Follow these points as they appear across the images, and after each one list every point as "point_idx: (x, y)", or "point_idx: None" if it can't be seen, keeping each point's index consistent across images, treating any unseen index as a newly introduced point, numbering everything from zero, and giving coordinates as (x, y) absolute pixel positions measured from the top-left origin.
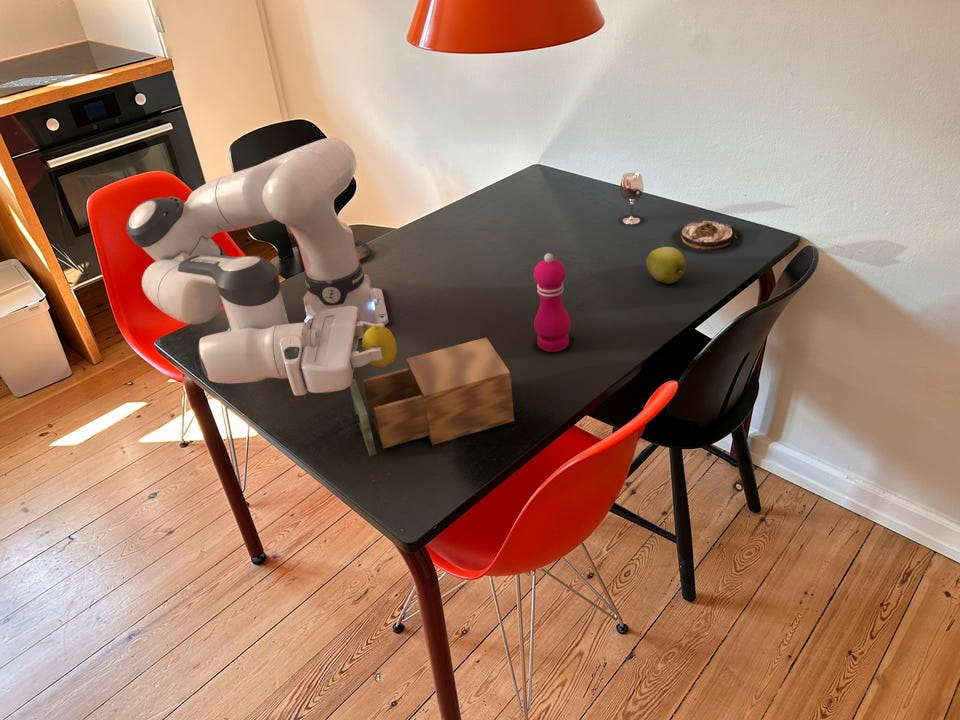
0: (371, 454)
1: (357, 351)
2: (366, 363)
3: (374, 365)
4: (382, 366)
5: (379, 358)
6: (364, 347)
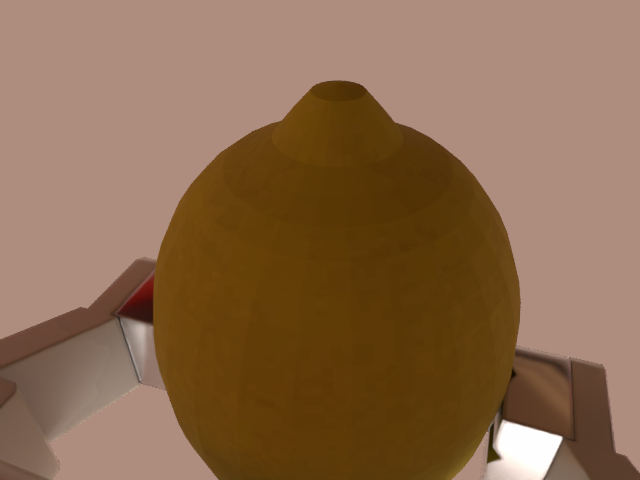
0: None
1: (49, 474)
2: (26, 333)
3: (180, 218)
4: (231, 145)
5: (133, 275)
6: (193, 446)
